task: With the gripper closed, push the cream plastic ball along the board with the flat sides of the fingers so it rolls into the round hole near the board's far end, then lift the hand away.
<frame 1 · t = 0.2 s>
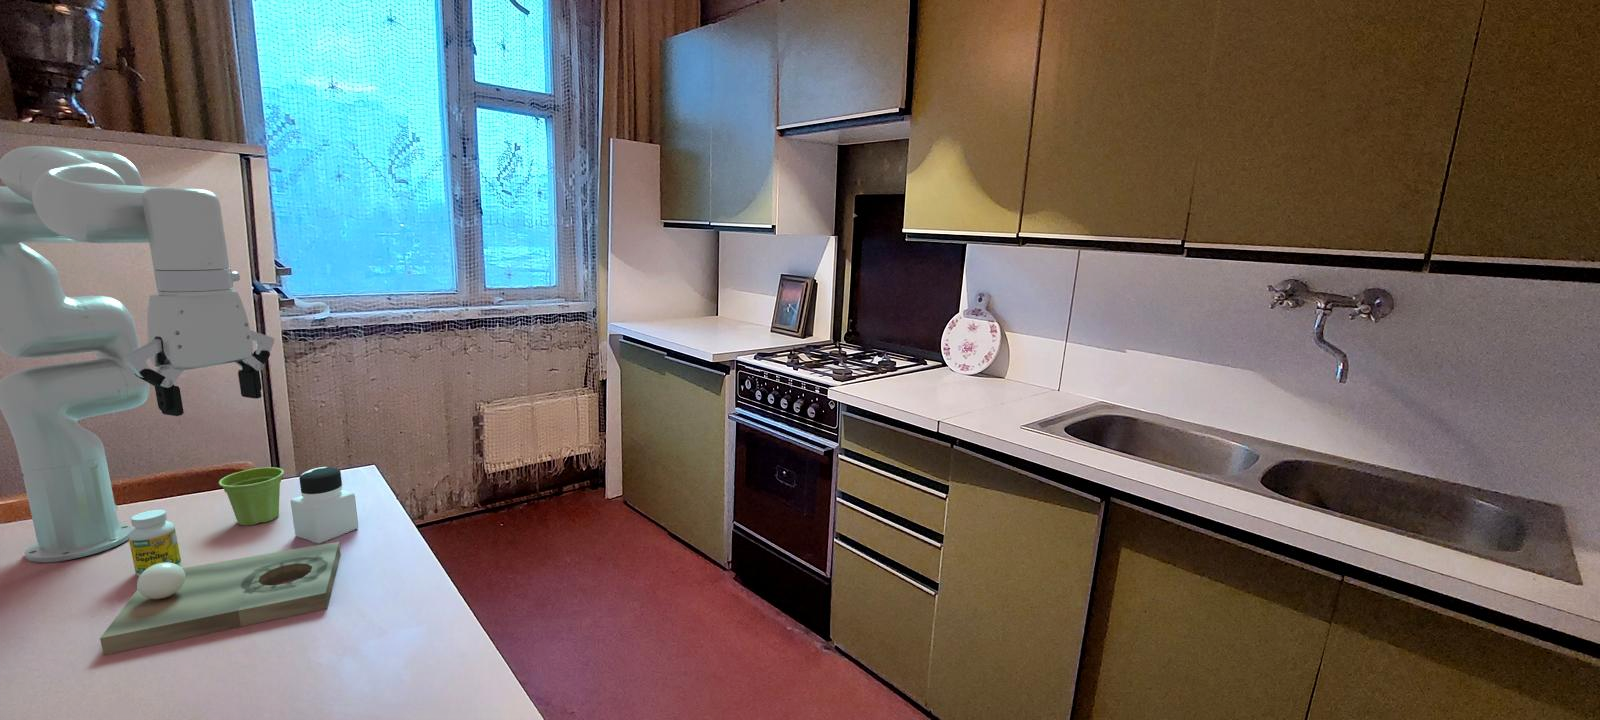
hand: (214, 405, 92), 31 cm above the table, tool pointing down, fingers open, 9 cm apart
supplement bottle: (159, 570, 107), on the table
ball: (161, 580, 94), point 5 cm above the table, touching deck
medicine bottle: (327, 533, 121), on the table
plant pot: (258, 520, 125), on the table
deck: (238, 598, 99), on the table
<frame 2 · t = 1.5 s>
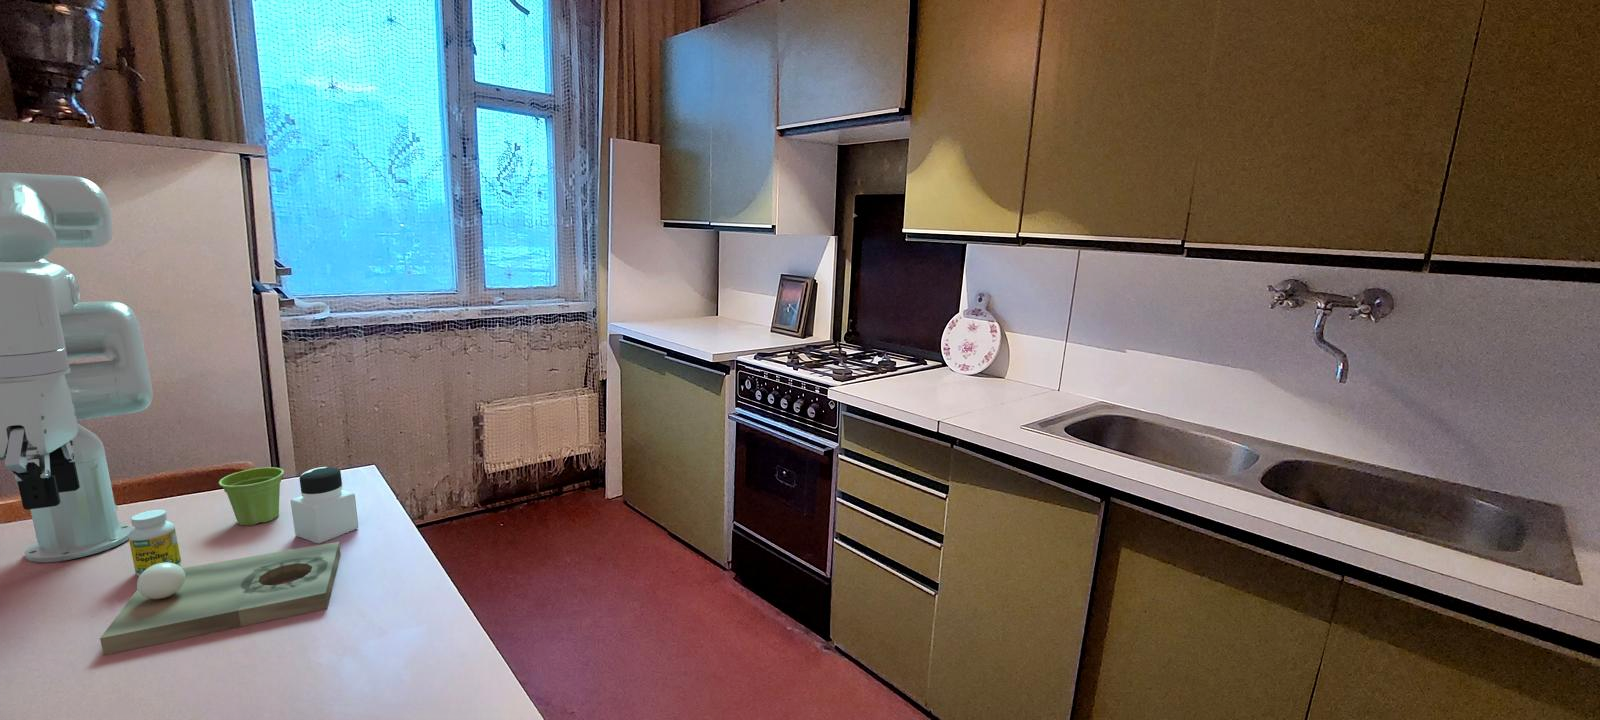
hand: (52, 497, 87), 19 cm above the table, tool pointing down, fingers open, 4 cm apart
nothing on the table moved.
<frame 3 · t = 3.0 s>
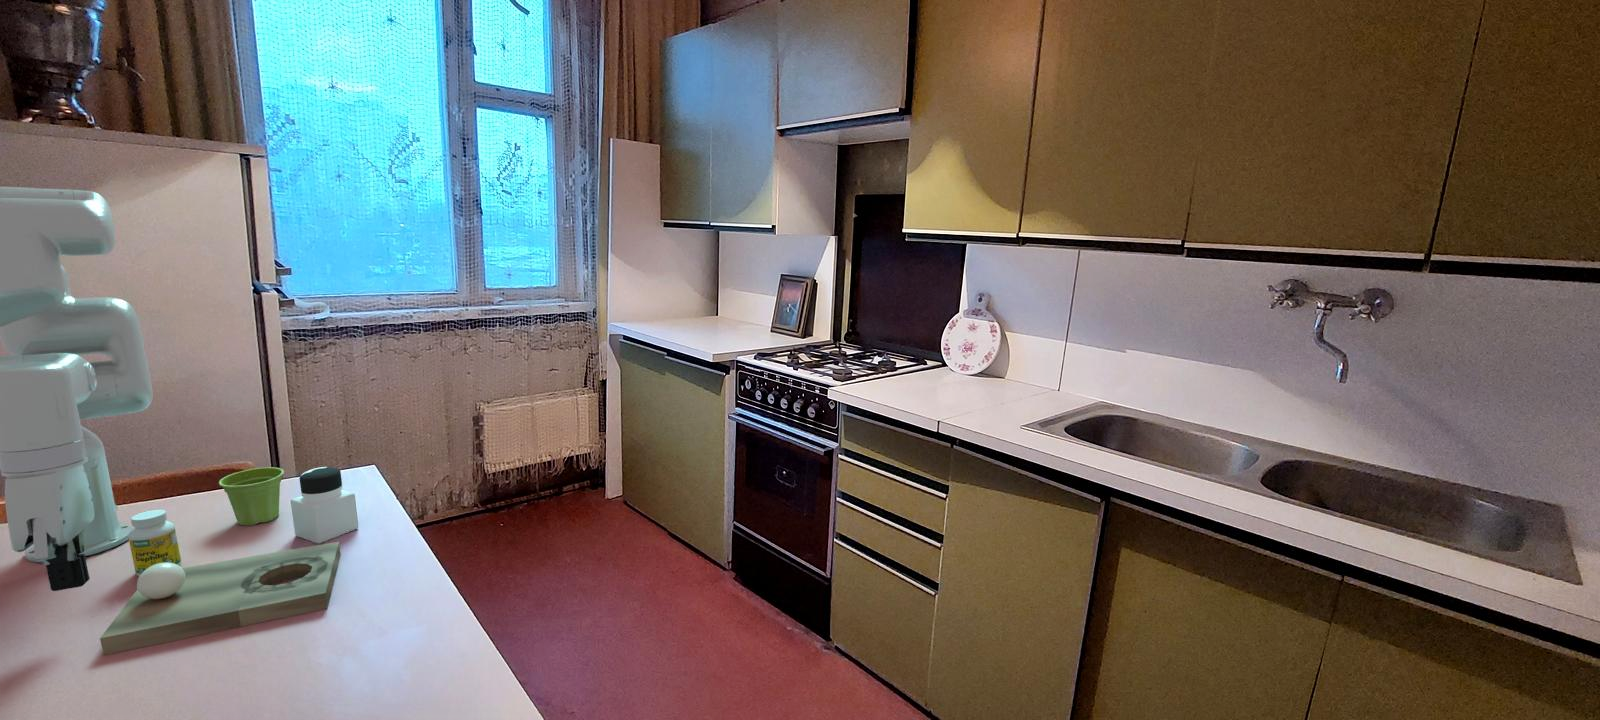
hand: (70, 585, 89), 7 cm above the table, tool pointing down, fingers closed
nothing on the table moved.
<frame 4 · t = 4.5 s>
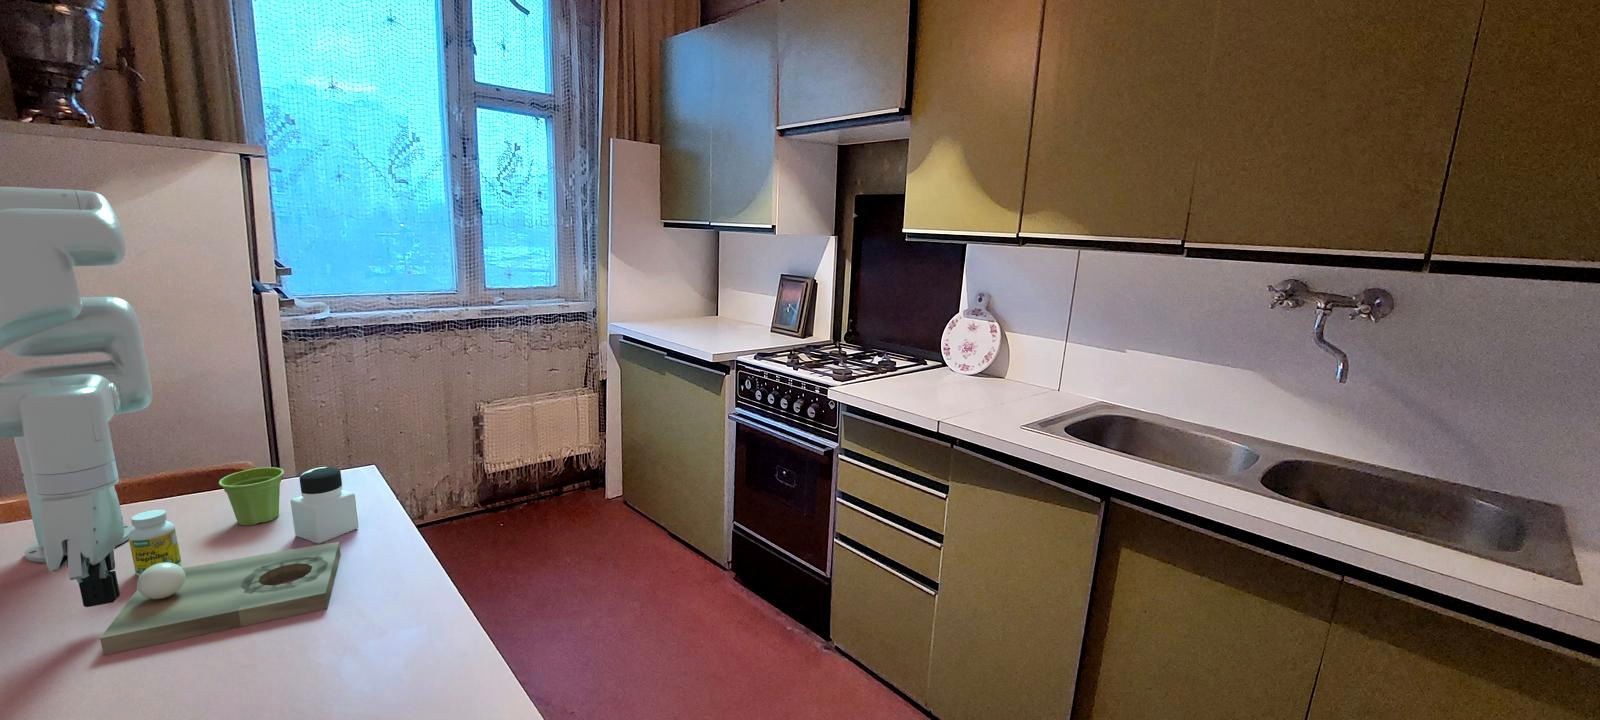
hand: (102, 601, 92), 3 cm above the table, tool pointing down, fingers closed
nothing on the table moved.
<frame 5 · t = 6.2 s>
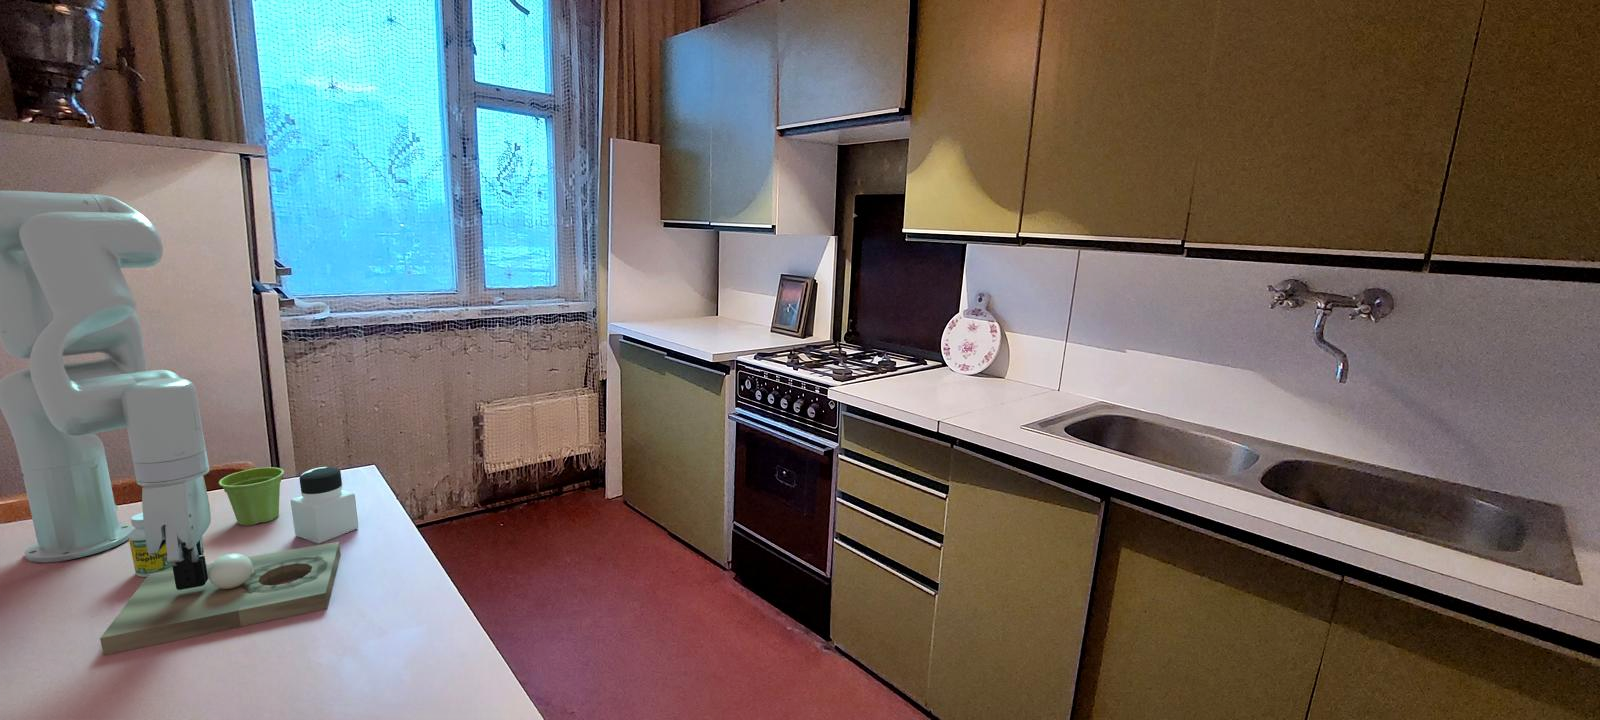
hand: (192, 585, 96), 3 cm above the table, tool pointing down, fingers closed
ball: (230, 570, 97), point 5 cm above the table, tilted 179°, touching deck
everything else where it was.
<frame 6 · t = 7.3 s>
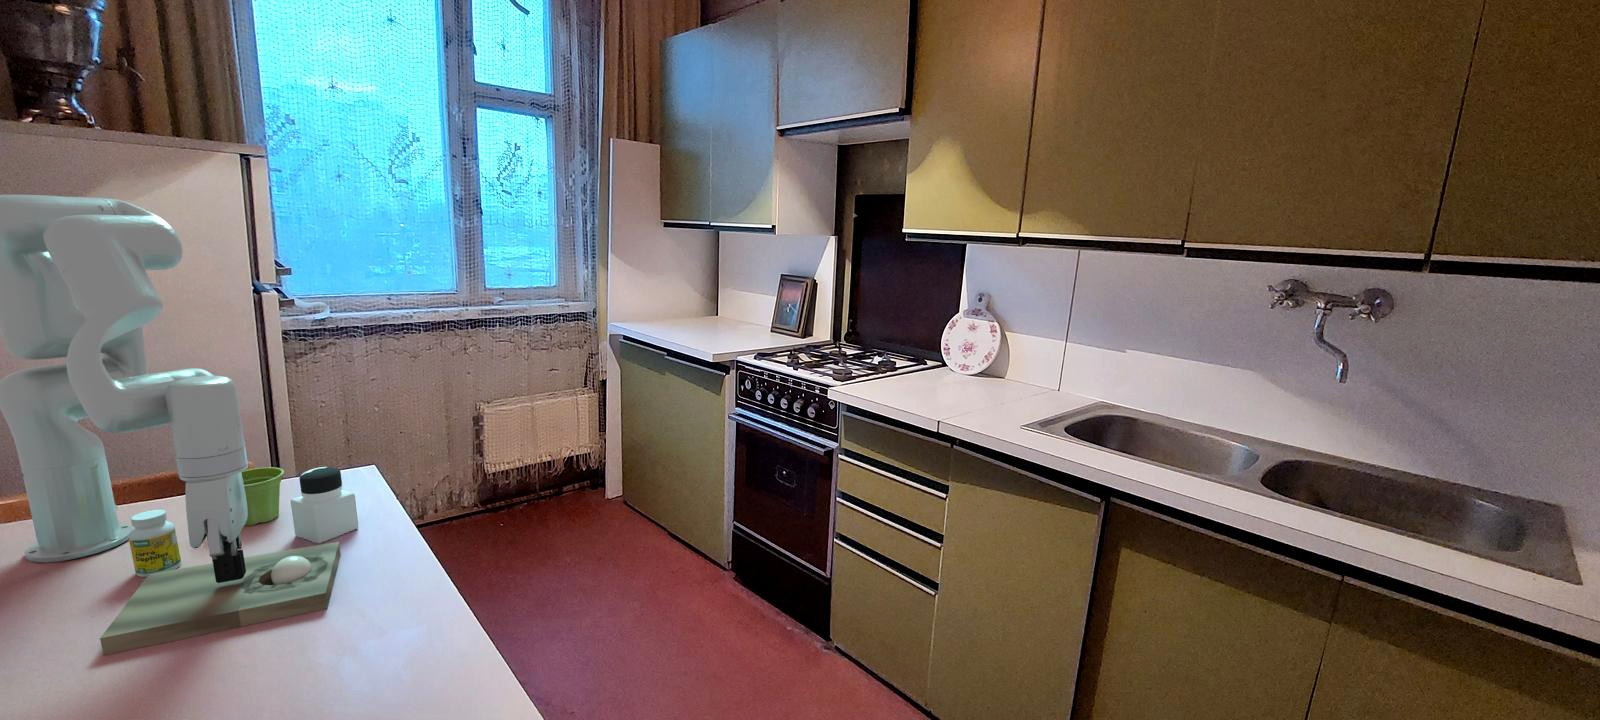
hand: (231, 578, 98), 3 cm above the table, tool pointing down, fingers closed
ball: (291, 572, 102), point 2 cm above the table, tilted 37°
everything else where it was.
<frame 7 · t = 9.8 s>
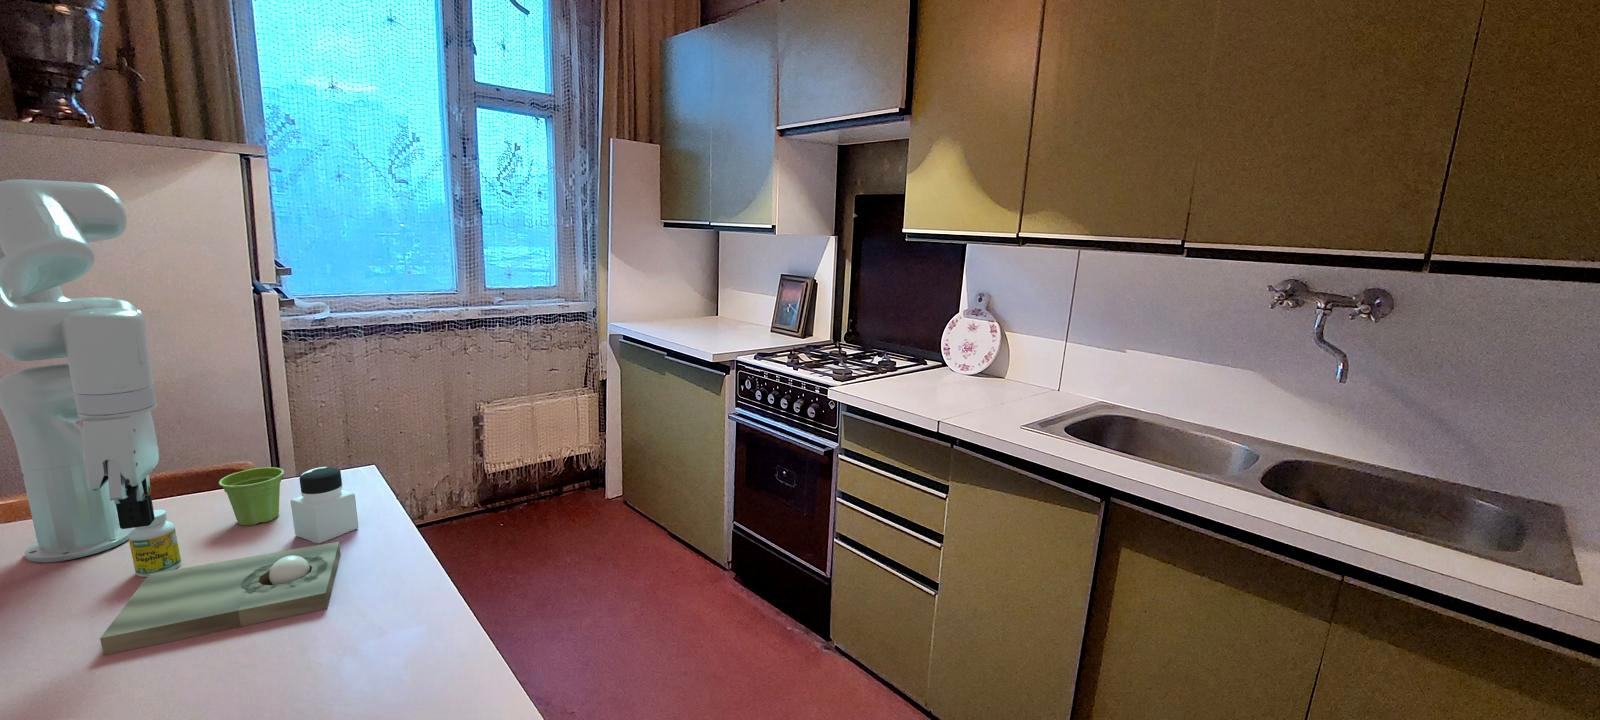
hand: (137, 524, 93), 14 cm above the table, tool pointing down, fingers closed
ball: (289, 572, 102), point 2 cm above the table, tilted 45°
everything else where it was.
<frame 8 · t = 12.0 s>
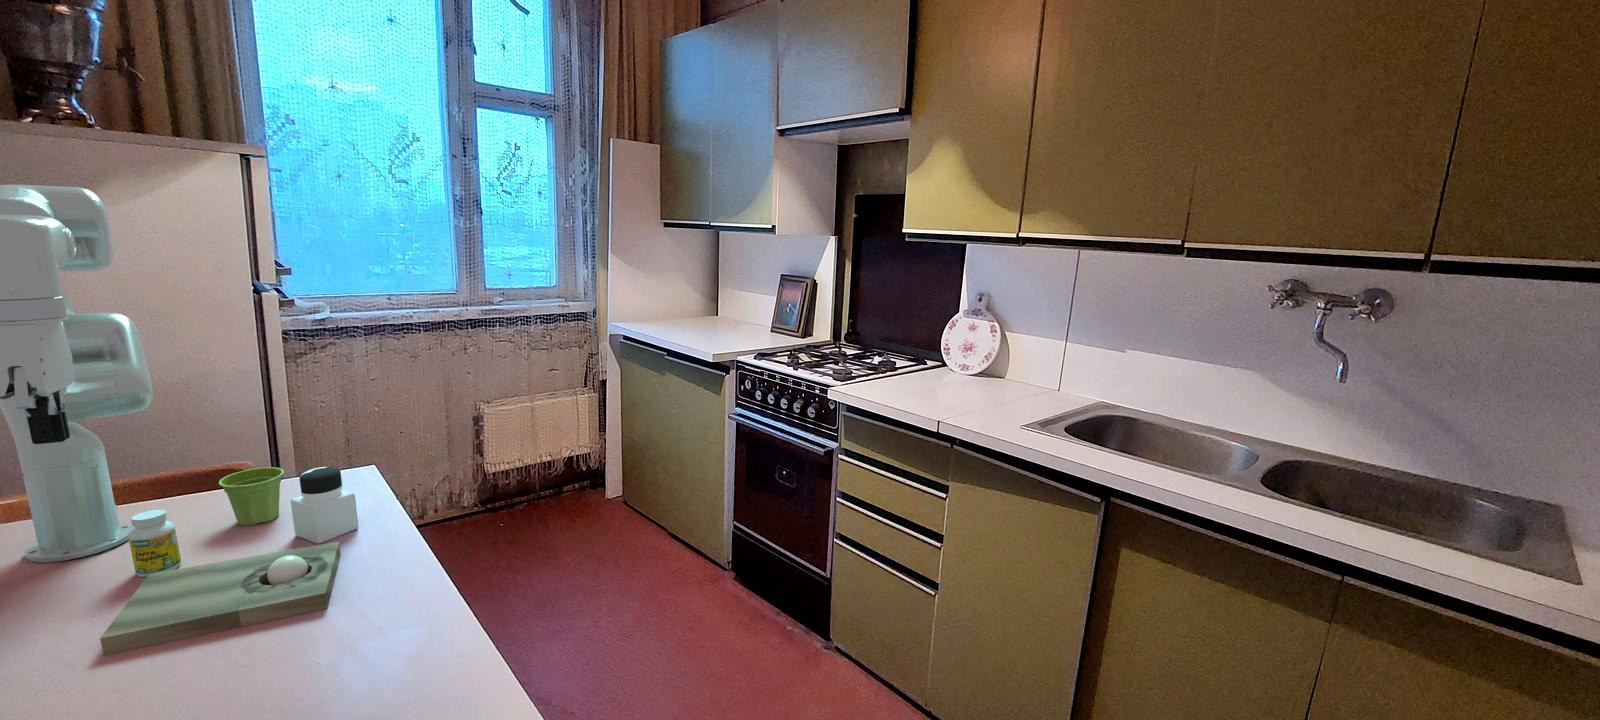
hand: (51, 441, 92), 25 cm above the table, tool pointing down, fingers closed
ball: (287, 571, 102), point 2 cm above the table, tilted 52°
everything else where it was.
at the end: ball 0.7 cm from the target spot on the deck, point 2.5 cm above the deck's base; the gripper is holding nothing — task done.
